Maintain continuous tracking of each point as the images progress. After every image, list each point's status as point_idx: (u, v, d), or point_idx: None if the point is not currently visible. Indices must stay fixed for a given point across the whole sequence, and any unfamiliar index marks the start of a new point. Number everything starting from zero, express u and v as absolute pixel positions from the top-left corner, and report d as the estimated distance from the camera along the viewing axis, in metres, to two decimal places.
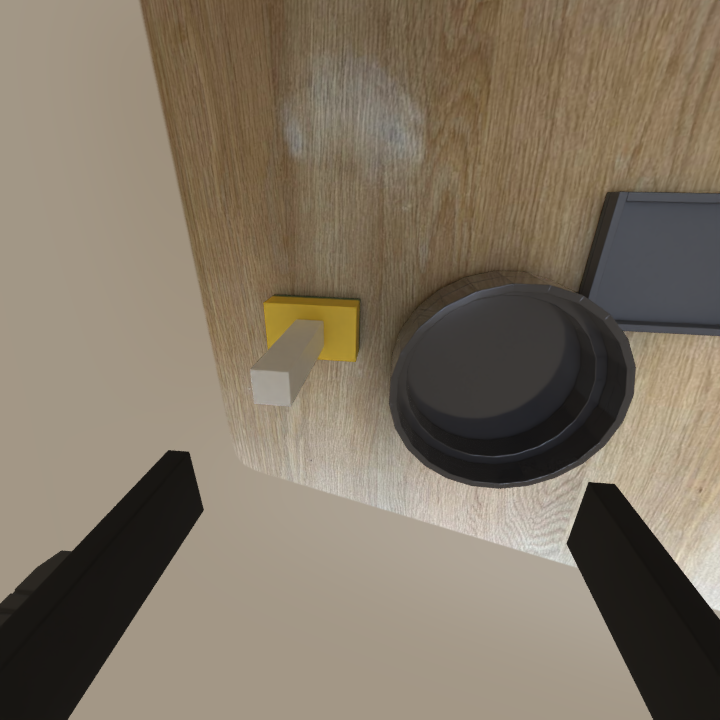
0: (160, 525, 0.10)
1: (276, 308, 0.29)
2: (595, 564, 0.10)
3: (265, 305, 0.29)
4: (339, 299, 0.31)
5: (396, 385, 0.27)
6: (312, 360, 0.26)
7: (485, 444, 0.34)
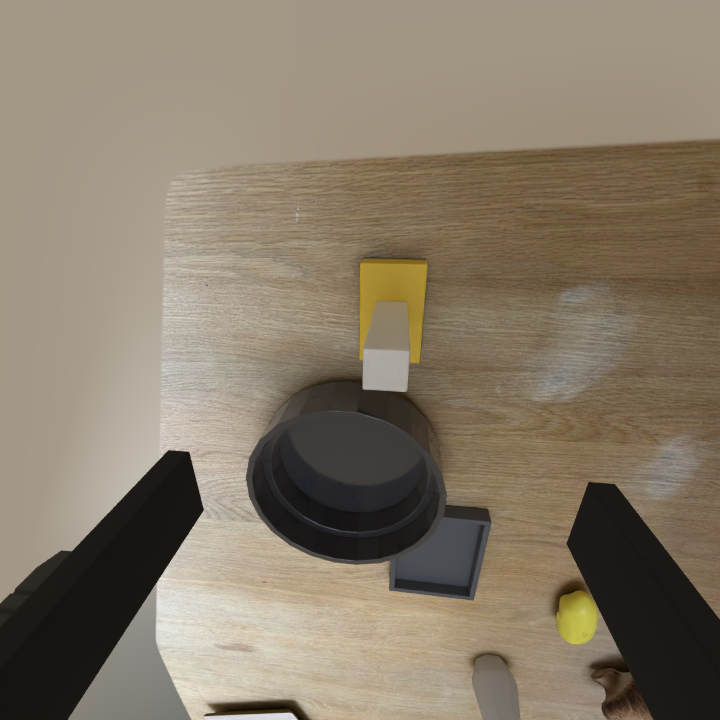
0: (160, 525, 0.10)
1: (420, 279, 0.26)
2: (595, 564, 0.10)
3: (424, 266, 0.25)
4: None
5: (349, 417, 0.28)
6: None
7: (278, 463, 0.36)
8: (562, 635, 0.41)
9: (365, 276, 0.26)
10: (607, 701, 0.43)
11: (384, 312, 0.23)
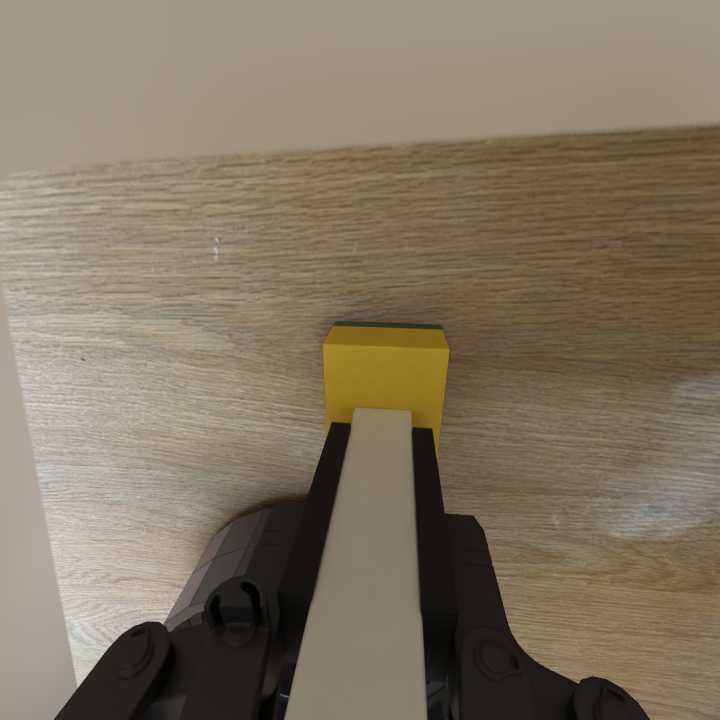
0: None
1: (435, 375, 0.14)
2: None
3: (443, 353, 0.13)
4: None
5: None
6: None
7: None
8: None
9: (334, 367, 0.14)
10: None
11: (365, 459, 0.12)
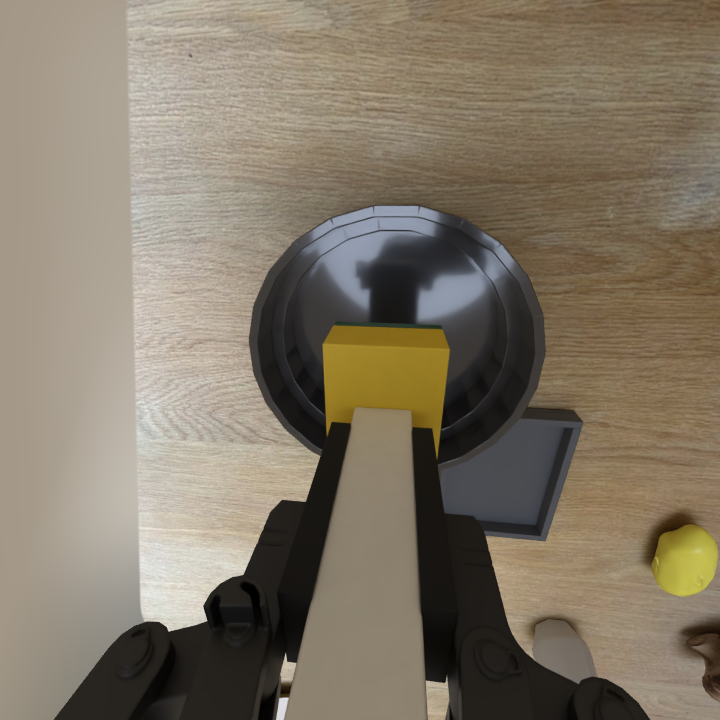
0: None
1: (435, 375, 0.14)
2: None
3: (443, 353, 0.13)
4: None
5: (407, 215, 0.18)
6: None
7: (292, 343, 0.27)
8: (664, 585, 0.31)
9: (333, 367, 0.14)
10: (715, 673, 0.34)
11: (365, 458, 0.12)
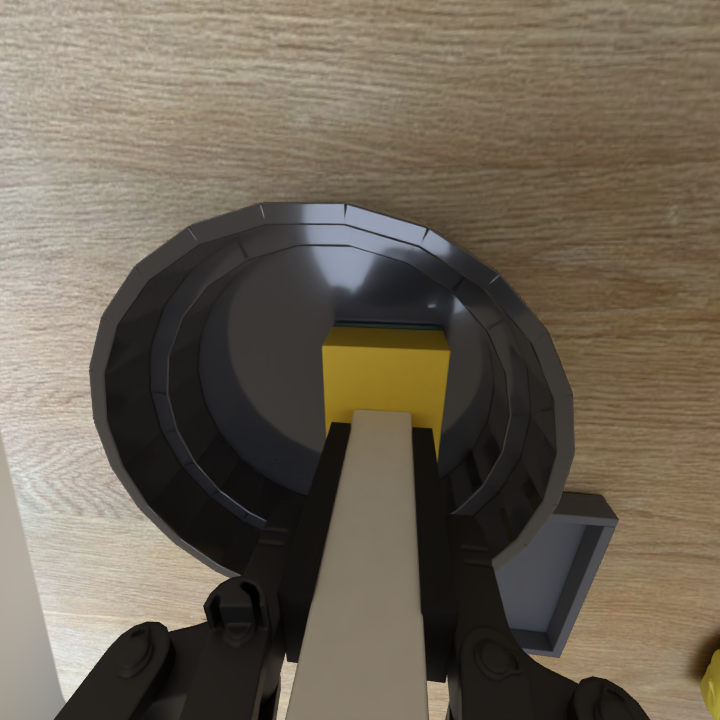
0: None
1: (435, 377, 0.13)
2: None
3: (443, 355, 0.13)
4: None
5: (325, 221, 0.10)
6: None
7: (196, 405, 0.18)
8: None
9: (333, 368, 0.14)
10: None
11: (365, 462, 0.11)
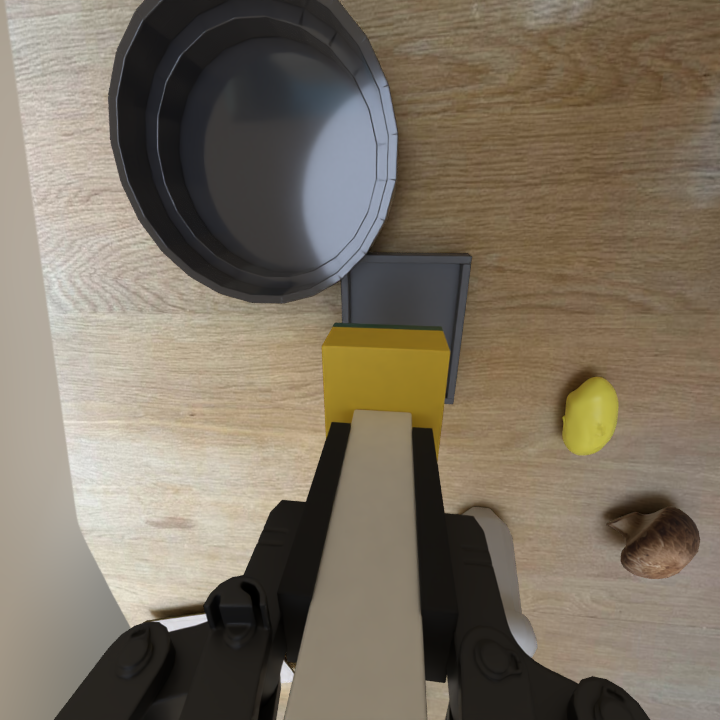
0: None
1: (435, 377, 0.13)
2: None
3: (443, 355, 0.13)
4: None
5: None
6: None
7: (178, 179, 0.26)
8: (570, 444, 0.31)
9: (332, 369, 0.14)
10: (629, 543, 0.33)
11: (365, 462, 0.11)
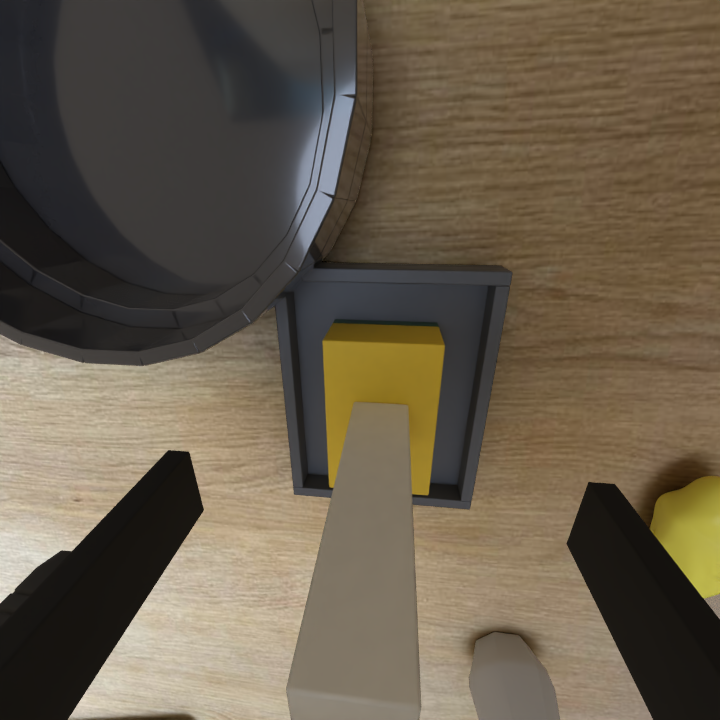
0: (160, 525, 0.10)
1: (431, 370, 0.14)
2: (595, 564, 0.10)
3: (438, 349, 0.14)
4: None
5: None
6: None
7: None
8: None
9: (333, 362, 0.14)
10: None
11: (364, 449, 0.12)
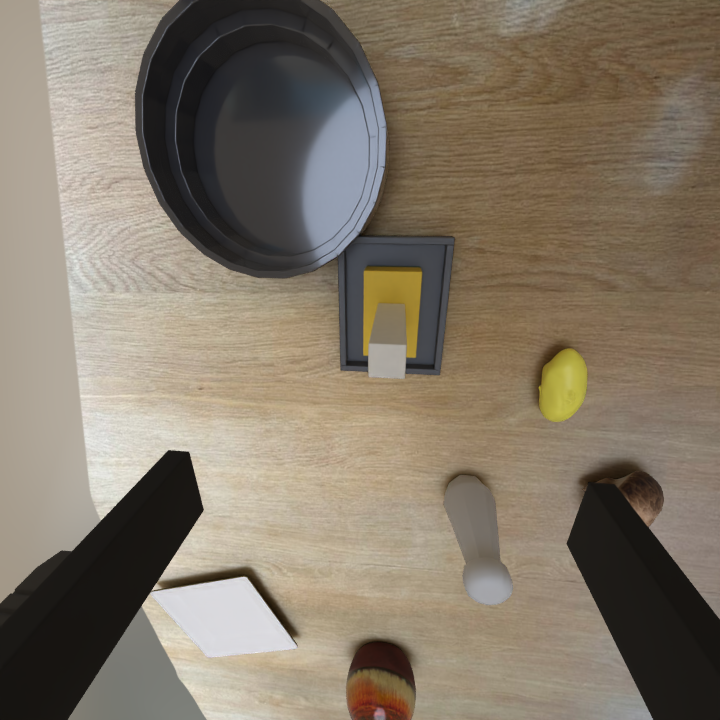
0: (160, 526, 0.10)
1: (416, 285, 0.30)
2: (595, 564, 0.10)
3: (419, 274, 0.29)
4: None
5: None
6: None
7: (192, 167, 0.29)
8: (545, 411, 0.34)
9: (368, 282, 0.30)
10: None
11: (385, 313, 0.27)
